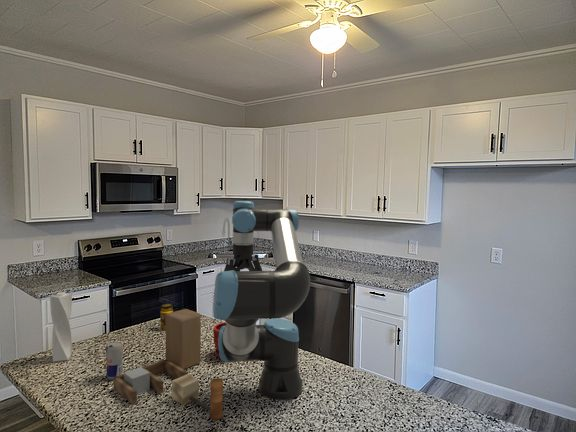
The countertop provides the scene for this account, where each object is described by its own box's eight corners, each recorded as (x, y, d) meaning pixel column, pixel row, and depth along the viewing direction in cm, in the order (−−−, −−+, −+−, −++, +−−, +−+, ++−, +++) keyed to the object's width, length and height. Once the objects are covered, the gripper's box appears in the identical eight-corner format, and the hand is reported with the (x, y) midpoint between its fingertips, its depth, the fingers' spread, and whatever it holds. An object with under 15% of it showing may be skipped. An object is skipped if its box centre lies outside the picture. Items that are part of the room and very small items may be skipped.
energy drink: (104, 376, 138) (103, 344, 138) (118, 371, 142) (118, 340, 142) (110, 382, 135) (109, 348, 134) (125, 376, 139) (125, 344, 138)
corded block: (228, 414, 117) (228, 379, 116) (212, 423, 112) (212, 387, 112) (187, 391, 130) (187, 359, 129) (172, 398, 125) (172, 365, 124)
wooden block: (186, 355, 157) (186, 307, 156) (201, 363, 151) (201, 313, 150) (164, 364, 150) (164, 313, 148) (179, 372, 143) (179, 319, 142)
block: (149, 389, 130) (149, 372, 130) (132, 396, 126) (132, 378, 126) (141, 383, 134) (141, 366, 134) (124, 390, 130) (124, 372, 130)
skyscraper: (76, 353, 157) (75, 285, 155) (72, 361, 150) (70, 290, 148) (52, 355, 155) (51, 287, 153) (47, 364, 147) (45, 292, 145)
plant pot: (250, 356, 158) (251, 327, 157) (221, 364, 150) (221, 334, 150) (236, 345, 169) (236, 318, 168) (208, 352, 161) (208, 324, 160)
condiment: (161, 333, 181) (161, 308, 180) (156, 327, 188) (156, 303, 187) (177, 330, 186) (177, 305, 185) (171, 324, 192) (171, 301, 192)
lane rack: (187, 382, 135) (187, 371, 135) (133, 404, 121) (132, 392, 121) (166, 369, 145) (166, 359, 145) (113, 388, 130) (113, 377, 130)
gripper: (259, 238, 152) (258, 291, 154) (209, 246, 133) (208, 305, 135) (273, 241, 147) (272, 295, 149) (223, 248, 128) (223, 310, 130)
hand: (242, 300), depth 142 cm, fingers open, 13 cm apart
